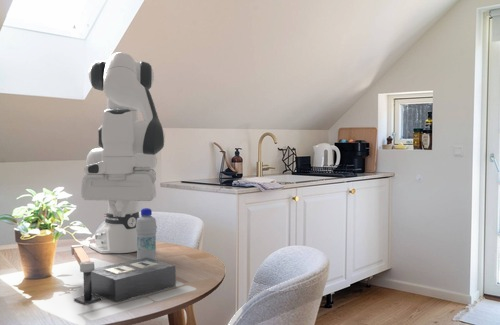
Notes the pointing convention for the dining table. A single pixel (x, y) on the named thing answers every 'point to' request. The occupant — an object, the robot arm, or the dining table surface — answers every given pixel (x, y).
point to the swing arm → (82, 258)
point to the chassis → (132, 279)
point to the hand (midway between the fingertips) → (119, 216)
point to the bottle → (146, 235)
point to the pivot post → (87, 291)
